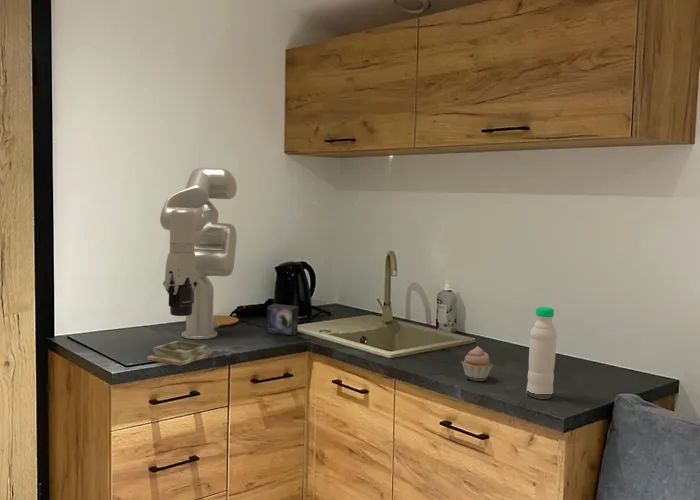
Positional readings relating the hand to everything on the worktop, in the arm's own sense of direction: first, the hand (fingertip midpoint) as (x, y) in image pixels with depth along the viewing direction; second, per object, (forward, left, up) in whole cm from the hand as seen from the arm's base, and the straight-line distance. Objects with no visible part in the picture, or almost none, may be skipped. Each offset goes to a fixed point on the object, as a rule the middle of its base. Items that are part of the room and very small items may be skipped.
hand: (181, 304), depth 215 cm
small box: (-48, +8, -17) cm, 52 cm away
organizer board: (0, 0, -17) cm, 17 cm away
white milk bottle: (-22, +108, -17) cm, 112 cm away
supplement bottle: (0, 0, -3) cm, 3 cm away
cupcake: (-29, +88, -17) cm, 94 cm away
